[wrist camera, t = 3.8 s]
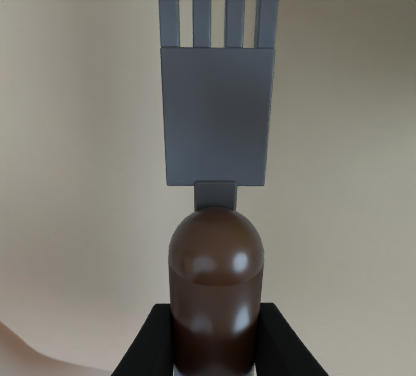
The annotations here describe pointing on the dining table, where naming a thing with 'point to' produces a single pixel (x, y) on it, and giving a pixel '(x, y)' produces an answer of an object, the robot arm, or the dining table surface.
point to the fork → (216, 182)
